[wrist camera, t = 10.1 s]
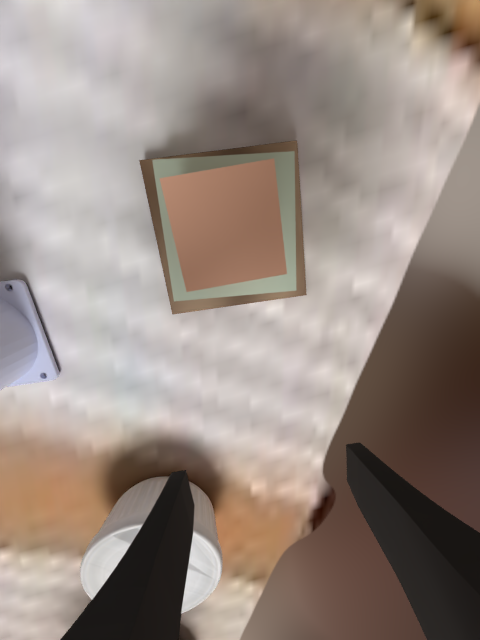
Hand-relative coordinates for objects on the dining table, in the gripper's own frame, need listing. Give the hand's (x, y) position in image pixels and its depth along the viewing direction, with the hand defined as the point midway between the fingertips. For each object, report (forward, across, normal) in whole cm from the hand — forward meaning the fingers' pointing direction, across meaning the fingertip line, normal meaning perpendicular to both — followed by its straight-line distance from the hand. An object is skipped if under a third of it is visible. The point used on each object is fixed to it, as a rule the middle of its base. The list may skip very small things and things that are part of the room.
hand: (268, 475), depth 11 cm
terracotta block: (+7, 0, -11) cm, 13 cm away
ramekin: (+11, +10, +14) cm, 21 cm away
